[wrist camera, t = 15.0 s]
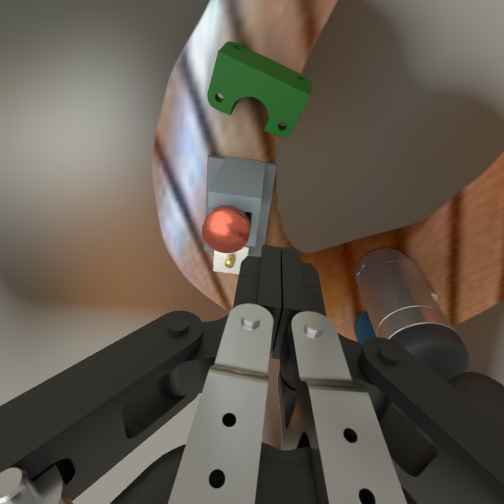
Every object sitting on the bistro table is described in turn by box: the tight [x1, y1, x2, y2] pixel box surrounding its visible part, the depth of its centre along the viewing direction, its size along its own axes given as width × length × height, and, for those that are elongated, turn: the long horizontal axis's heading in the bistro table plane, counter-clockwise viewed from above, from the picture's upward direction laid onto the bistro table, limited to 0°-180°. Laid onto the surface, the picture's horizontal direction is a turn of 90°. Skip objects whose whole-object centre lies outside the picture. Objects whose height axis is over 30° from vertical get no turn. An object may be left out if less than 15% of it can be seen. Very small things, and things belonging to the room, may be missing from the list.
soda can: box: [354, 311, 376, 345], centre depth 55 cm, size 7×7×12 cm
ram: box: [202, 205, 250, 253], centre depth 38 cm, size 5×5×14 cm
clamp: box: [208, 42, 311, 138], centre depth 38 cm, size 12×6×9 cm, turn 61°
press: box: [205, 155, 277, 257], centre depth 44 cm, size 10×16×14 cm, turn 173°
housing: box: [213, 246, 249, 274], centre depth 48 cm, size 5×5×7 cm
